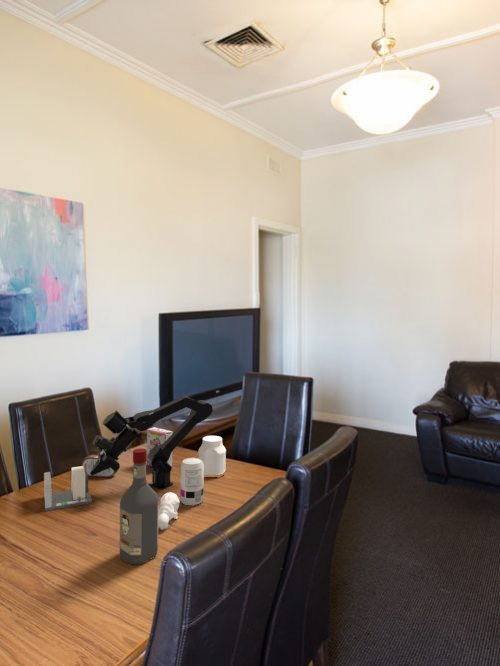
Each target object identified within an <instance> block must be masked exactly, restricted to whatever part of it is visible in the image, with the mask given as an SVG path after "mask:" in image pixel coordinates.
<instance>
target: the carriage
mask: <svg viewBox="0 0 500 666" xmlns="http://www.w3.org/2000/svg"><path fill="white" fill-rule="evenodd" d="M70 472H71V478H70V479H71V480H70V481H71V484H70V488H71V489H70V490H71V492H72V497H73V500H78V499H79V501H81V499H85V493H88V489H89V476H88V474H87V471H86V470H84V468H83V466H82V465H81V466H73V467H71V471H70Z"/></svg>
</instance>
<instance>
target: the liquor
mask: <svg viewBox="0 0 500 666" xmlns="http://www.w3.org/2000/svg"><path fill="white" fill-rule="evenodd" d="M132 462H133V467H132V468H133V471H132V472H133V474H132V475H133V477H132V482H131V484H130V486H129V487H128V488H127V489H126V491H124V493H123V494H122V496H121V498H120V501H119V557H120V558H121V559H122V558H123V559H122V560H124V561H125V560H126V561H125V562H126V563H128V562H129V565H132V564H138V565H143V564H144V562H145V561H147V560H149V559H150V560H152V559H154V558H156V557H157V555H158V550H159V528H158V509H159V495H158V493H157V492H156V491H155V489H153V488H152V486H150V485H149V484H148V483H147V482H148V481H147V472H146V471H147V448H136V449H135V448H134V449H133V450H132ZM153 557H154V558H153ZM151 558H152V559H151ZM150 560H149V561H150ZM147 562H148V561H147ZM142 563H143V564H142ZM145 563H146V562H145Z"/></svg>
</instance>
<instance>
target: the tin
mask: <svg viewBox="0 0 500 666" xmlns="http://www.w3.org/2000/svg"><path fill="white" fill-rule="evenodd" d="M97 460H98V454H90V455H87V456H86V457H85V458H84V459H83V460H82V462H81V466H83V468H84V470H86V471H87V474H88V477H95V476H97V477H98V478H111V477H113V476H115V474H117V473H118V471H119V469H118V470H117V471H116V472H115V471H114V470H113V469H111V468H109V469H106V470H104V471H101V472H99V473H97V474H95V475H91V474H90V472H91V470H92V469H93V467H94V465H95V463H96V462H97Z"/></svg>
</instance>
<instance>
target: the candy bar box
mask: <svg viewBox="0 0 500 666" xmlns="http://www.w3.org/2000/svg"><path fill="white" fill-rule="evenodd" d="M173 433H174V431H172V430H169V429H164V428H160V427H155V426H154V427H150V428H149V429H147V430H146V450H147V461H146V467H150V468H153V467H152V466H151V464H150V463H149V461H148V454H149V453H150V452H149V450H151V449H152V448H153V447H154V446H155V444H156V443H157V444H158V445H161V444H163V443H164V442H165V441H166V440H167V439H168V438H169V437H170V436H171V435H172V434H173ZM167 462H168V463H169V464H170V466H171V467H172V468H173V452H172V453H171V456H170V458H169V460H168V461H167Z"/></svg>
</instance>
